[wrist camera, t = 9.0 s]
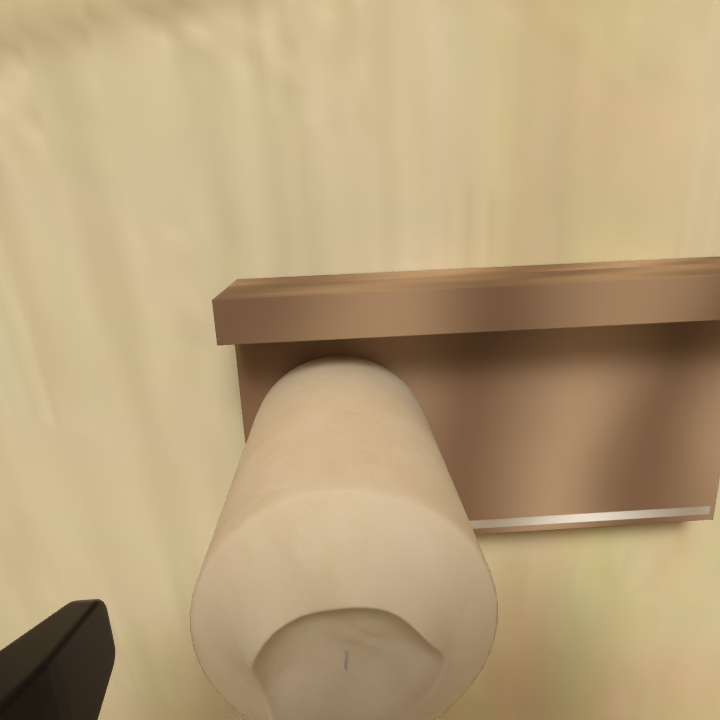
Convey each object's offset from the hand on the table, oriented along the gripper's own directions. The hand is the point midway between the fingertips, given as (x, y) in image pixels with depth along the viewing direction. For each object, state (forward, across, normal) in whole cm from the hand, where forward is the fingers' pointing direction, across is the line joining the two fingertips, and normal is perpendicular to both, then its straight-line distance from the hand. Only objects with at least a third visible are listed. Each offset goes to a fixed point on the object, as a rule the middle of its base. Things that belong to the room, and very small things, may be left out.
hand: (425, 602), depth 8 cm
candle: (+10, +1, +2) cm, 11 cm away
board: (+12, -4, +1) cm, 12 cm away
